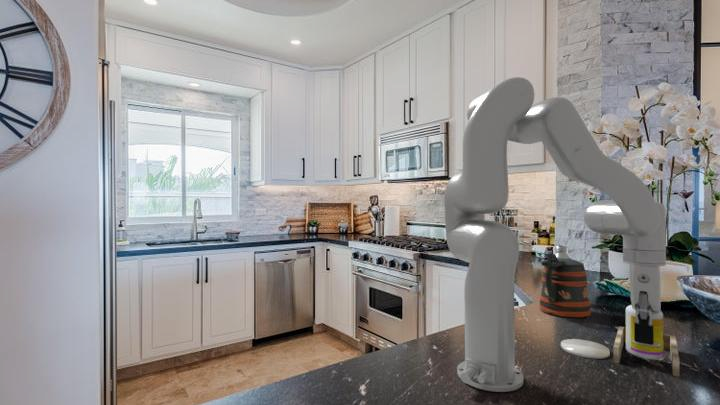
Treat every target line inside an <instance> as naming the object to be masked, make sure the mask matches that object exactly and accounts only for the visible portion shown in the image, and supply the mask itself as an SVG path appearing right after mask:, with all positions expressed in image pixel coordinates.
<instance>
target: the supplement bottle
mask: <svg viewBox="0 0 720 405" xmlns="http://www.w3.org/2000/svg"><path fill="white" fill-rule="evenodd" d="M647 300H648V295H647ZM635 305H636V304H635ZM638 309H640V307H638ZM647 310H650V303H649V308H647ZM648 315H649V314H648ZM634 322H635V323H636V309H635V310H634V309H633V308H632V304H630V305H627V306H626V308H625V327H626V342H625V350H626V351H627V353H629V354H631V355H633V356H635V357H638V358H642V359H647V360H661V359H662V358H664V355H665V354H664V353H665V352H664V343H663V334H664V313H663V312H662V311H661V312H660V313H657V311H653V310H652V325H653V345H650V344H645V343H639V342H636V341H635V340H634Z"/></svg>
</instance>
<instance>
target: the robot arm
mask: <svg viewBox="0 0 720 405" xmlns="http://www.w3.org/2000/svg"><path fill="white" fill-rule="evenodd" d="M534 102H535V89H534V86H533V84H532V83H531V81H530V80H528V79H527V78H524V77H520V76H517V77H510V78H507V79H505V80H503V81H501V82H500V83H498V84H496V85H494V86H493V87H491V88H490V89H488V90H487V91H485V92H483V93H481V94H480V95H478V96H477V97H475V98H474V99H473V100H472V101H471V102H470V104H469V105H468V108H467V112H466V117H467V118H466V119H467V124H466V126H465V130H464V133H463V140H462V171H460V172H458V173H456V174H454V175H453V176H452V177H451V178H450V179H449V180H448V182H447V183H446V186H445V189H444V194H443V196H444V198H443V200H444V201H443V202H444V205H443V206H444V223H445V238H446V244H447V247H448V249H449V251H450V253H451V254H452V255H453V256H454V257H456V258H457V259H458V260H460V261H463V262H465V263H469V264H468V268H467V273H466V275H465V280H464V291H463V292H464V294H463V295H464V361H462V362H460V363H459V364H458V365H457V368H456V369H457V371H456V373H457V377H458V378H459V379H460V380H461V382H462V383H464V384H467V385H469V386H471V387H474V388H476V389H478V390H481V391H482V390H483V391H488V392H494V393H506V392H507V393H508V392H514V391H516V390H518V389H520V388H521V387H522V386H524V375H523V373H522V372H521V371H520V370H519V369H518V368H517V367H516V360H515V359H516V358H515V357H516V356H515V355H516V349H515V348H516V347H515V344H516V343H515V342H516V341H515V340H516V339H515V338H516V337H515V336H516V335H515V334H516V332H515V331H516V330H515V329H516V328H515V327H516V326H515V325H516V324H515V278H516V271H517V265H518V260H519V254H520V242H519V240H518V237H517V235H516V233H515V232H514V231H513V230H512V228H510V227H509V226H508V225H506V224H504V223H502V222H500V221H495V220H485V216H486V214H487V215H489V214H495V213H498V212H500V211H502V210H503V209H504V208H505V207H506V205H507V203H508V201H509V194H510V193H509V191H510V190H509V174H508V173H509V170H508V156H507V155H508V141H510V142H512V143H513V142H514V143H518V144H523V145H533V144H536V143H537V144H538V143H540V142H541V143H542V144H543V146H544V147H545V149H546V150H547V152H548V154H549V155H550V157H551V158H552V161H554V164H555V165H556V167H557V168H558V170H559V172H560V173H561V175H563V176H564V177H566V178H568V179H571V180H573V181H575V182H578V183H581V184H585V185H587V186H589V187H593V188H594V189H596V190H599V191H600V192H601V193H603V194H604V195H606V196H608V197H609V198H610V199H611V200H600V201H596V202H592V203H591V204H590V205H589V206H587V207H586V209H585V210H584V212H583V222H584V224H585V225H586V227H587V228H589V229H590V230H591V231H593V232H594V233H597V234H600V235H601V234H603V235H609V236H622V262H623V263H624V264H627V265H629V292H630V302H631V305H632V308H633V309H634V310H635V309H636V323H635V322H634V340H635V341H636V342H639V343H645V344H650V345H653V325H652V310H653V311H657V313H660V312H662V310H661V303H662V302H661V299H662V298H661V297H662V296H661V286H662V285H661V284H662V283H661V268H660V267H666V266H667V261H666V260H667V256H666V255H667V253H666V252H667V251H666V250H667V249H666V248H667V247H666V245H667V244H666V240H667V239H666V238H667V232H666V228H667V225H666V222H667V221H666V220H667V217H666V216H667V215H666V214H667V213H666V206H665V205H664V204H663V203H662V202H659V201H656V200H655V198H654V197H653V194H652V193H651V192H650V189H649V188H648V187H647V185H646V184H645V182H644V181H643V180H642V179H641V178H640V177H639V176H638V175H636V174H635V173H633V172H632V171H631V170H630V169H628V168H626V167H625V166H623V165H622V164H620V163H619V162H618V161H616V160H614V159H613V158H611V157H609V156H607V155H605V154H604V152H603V151H602V150H601V149H600V147H599V145H598V143H597V141H596V140H595V139H594V137H593V135H592V133H591V132H590V130H589V128H588V127H587V125H586V123H585V122H584V120H583V119H582V117H581V115H580V114H579V112H578V110H577V109H576V106H574V103H572V102H571V101H570V100H569V99H568V98H566V97H563V96H562V97H561V96H558V97H551V98H548V99H545V100H544V99H543V100H541V101H539V102H537V103H534ZM647 295H648V300H647ZM649 303H650V310H647V308H649ZM635 304H636V305H635ZM638 307H640V309H638ZM648 314H649V315H648Z"/></svg>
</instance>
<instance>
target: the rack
mask: <svg viewBox="0 0 720 405" xmlns="http://www.w3.org/2000/svg"><path fill="white" fill-rule="evenodd" d="M624 343H626V326H618V330H617V333H616V336H615V339H614V343H613V347H612V349H613V363H616V364H620V361H621V357H622V353H623V352H622V350H623V347H624ZM663 343H664V350H665V351H669V352H670V360H671V368H672V375H673V376H675V377H680V355H679V349H678V343H677V337H676V335H674V334H667V333H663Z"/></svg>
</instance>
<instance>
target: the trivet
mask: <svg viewBox="0 0 720 405" xmlns="http://www.w3.org/2000/svg"><path fill="white" fill-rule="evenodd" d="M560 347H561V350H563V351H565V352H566V353H569V354H571V355H572V356H577V357H582V358H585V359H595V360H597V359H599V360H601V359H607V358H609V357H610V355H611V353H610V352H611V350H610V349H609V348H608V347H607V346H605V345H603V344H601V343H598V342H594V341H592V340H585V339H580V338H572V339H571V338H569V339H568V338H567V339H563V340H561V342H560Z"/></svg>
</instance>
